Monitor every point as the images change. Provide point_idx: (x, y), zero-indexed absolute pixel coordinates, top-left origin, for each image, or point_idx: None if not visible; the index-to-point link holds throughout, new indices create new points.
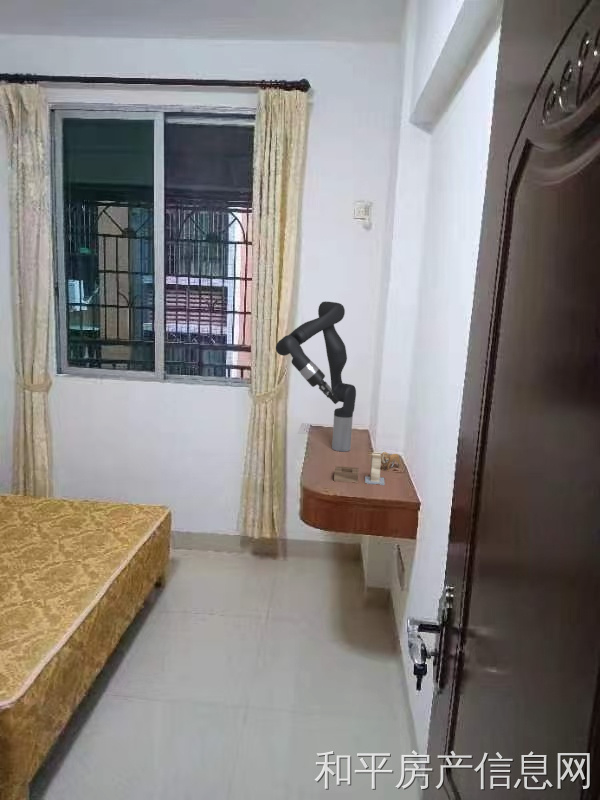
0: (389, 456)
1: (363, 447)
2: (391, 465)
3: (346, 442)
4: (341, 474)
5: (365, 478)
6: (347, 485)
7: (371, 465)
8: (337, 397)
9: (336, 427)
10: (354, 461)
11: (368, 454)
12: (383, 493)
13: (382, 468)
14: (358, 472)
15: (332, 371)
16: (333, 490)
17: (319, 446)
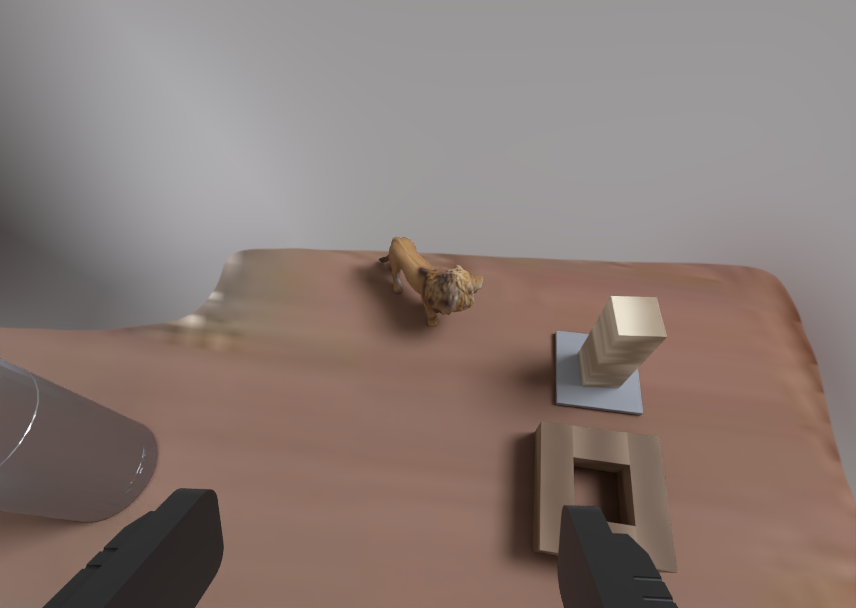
0: (432, 269)
1: (107, 355)
2: (397, 283)
3: (127, 435)
4: (669, 528)
5: (590, 405)
6: (699, 502)
7: (626, 360)
8: (212, 490)
9: (14, 486)
10: (320, 423)
11: (218, 348)
12: (736, 358)
13: (433, 320)
14: (619, 432)
15: None
16: (813, 591)
17: (14, 602)
